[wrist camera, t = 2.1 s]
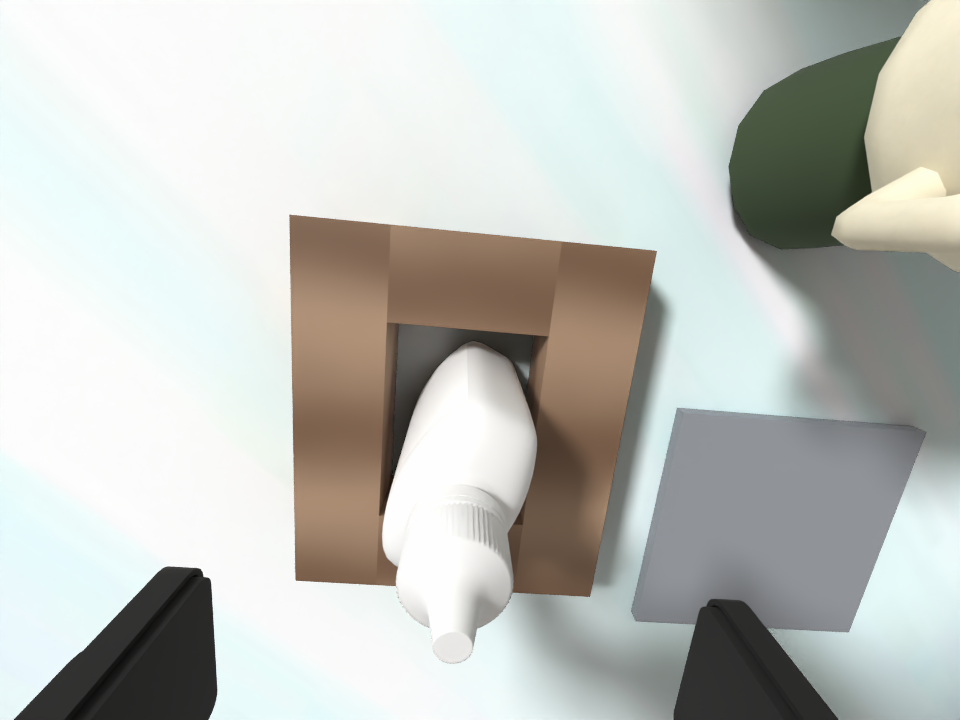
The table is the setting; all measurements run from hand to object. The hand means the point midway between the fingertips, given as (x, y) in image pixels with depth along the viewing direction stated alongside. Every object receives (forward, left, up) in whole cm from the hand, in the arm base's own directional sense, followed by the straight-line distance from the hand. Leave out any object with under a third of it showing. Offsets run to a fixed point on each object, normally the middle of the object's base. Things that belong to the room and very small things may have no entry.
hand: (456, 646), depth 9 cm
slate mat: (+4, +15, -11) cm, 19 cm away
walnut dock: (-1, 0, -11) cm, 11 cm away
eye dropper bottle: (-1, 0, -12) cm, 12 cm away
